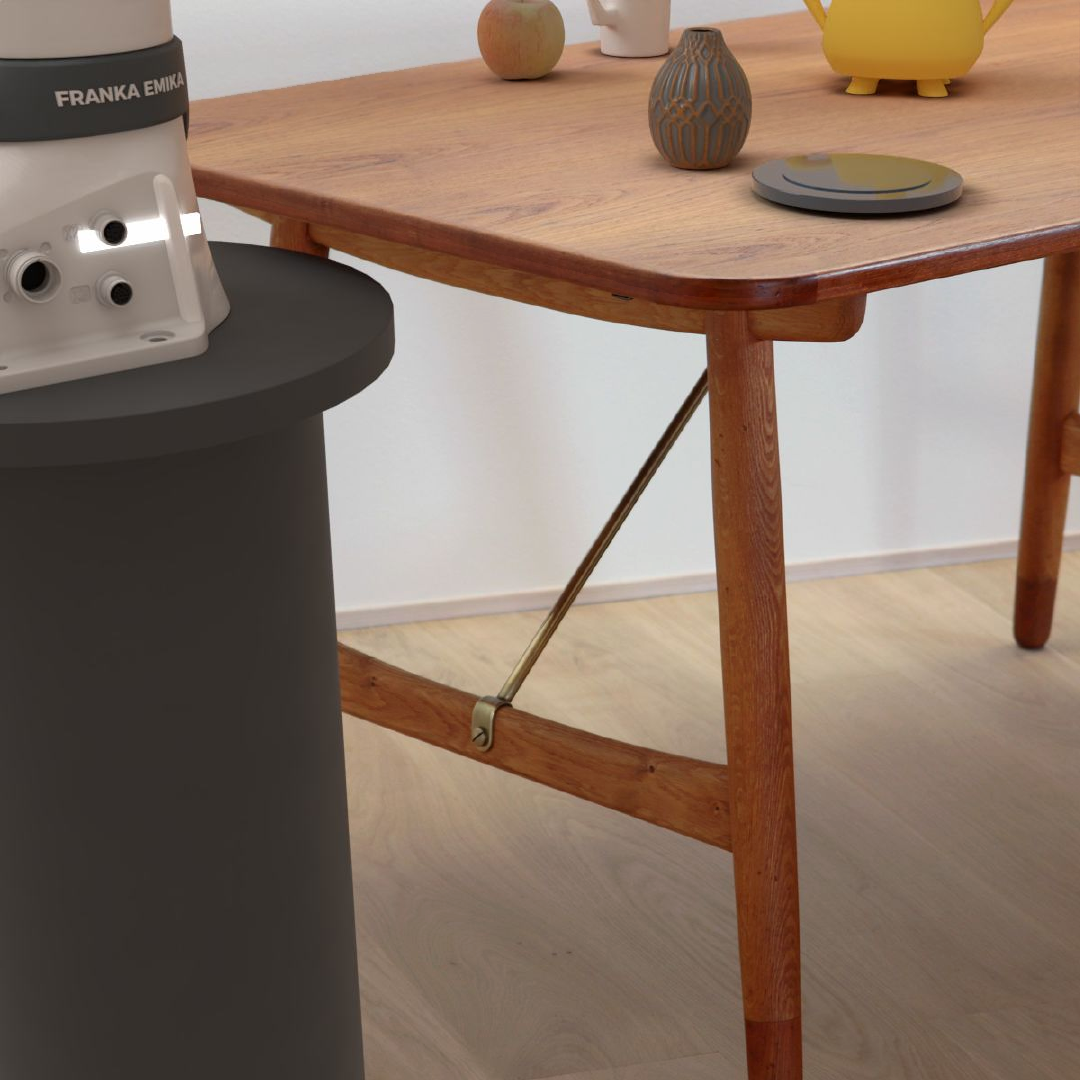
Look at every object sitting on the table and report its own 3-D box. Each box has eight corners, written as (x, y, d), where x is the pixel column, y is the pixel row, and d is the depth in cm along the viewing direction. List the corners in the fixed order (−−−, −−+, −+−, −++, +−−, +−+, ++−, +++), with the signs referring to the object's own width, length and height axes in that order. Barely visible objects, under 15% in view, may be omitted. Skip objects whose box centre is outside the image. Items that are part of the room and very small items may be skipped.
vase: (655, 176, 114) (658, 38, 110) (640, 154, 120) (642, 23, 116) (759, 173, 114) (765, 36, 111) (738, 151, 120) (744, 21, 117)
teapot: (1026, 90, 141) (1043, -63, 136) (895, 108, 134) (908, -52, 129) (907, 66, 152) (919, -77, 147) (780, 82, 145) (788, -67, 140)
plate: (880, 231, 100) (881, 209, 100) (708, 195, 109) (709, 174, 108) (1002, 193, 109) (1004, 172, 108) (834, 162, 117) (835, 143, 116)
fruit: (507, 67, 153) (506, -28, 150) (579, 74, 149) (579, -23, 146) (459, 80, 147) (456, -18, 144) (532, 88, 143) (532, -13, 140)
